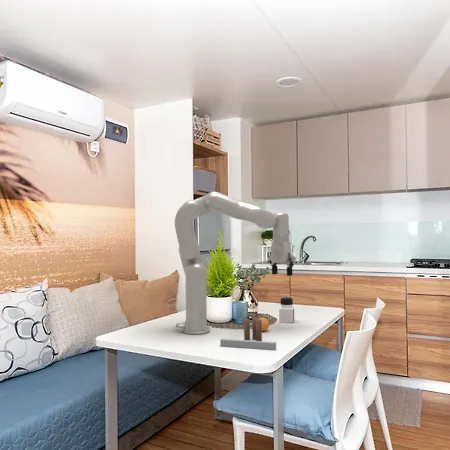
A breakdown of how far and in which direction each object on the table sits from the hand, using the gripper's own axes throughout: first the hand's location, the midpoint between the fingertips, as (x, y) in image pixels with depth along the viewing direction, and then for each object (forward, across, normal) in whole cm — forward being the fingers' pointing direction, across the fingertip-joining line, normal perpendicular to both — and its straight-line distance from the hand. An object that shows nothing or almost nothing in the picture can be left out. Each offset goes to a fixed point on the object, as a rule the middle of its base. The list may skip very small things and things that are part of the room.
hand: (282, 274), depth 197 cm
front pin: (+24, +8, -25) cm, 36 cm away
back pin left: (+24, +8, -30) cm, 39 cm away
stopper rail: (+24, +15, -36) cm, 46 cm away
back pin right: (+24, +12, -27) cm, 38 cm away
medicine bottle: (+25, -8, +10) cm, 28 cm away
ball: (+22, -1, -13) cm, 25 cm away
